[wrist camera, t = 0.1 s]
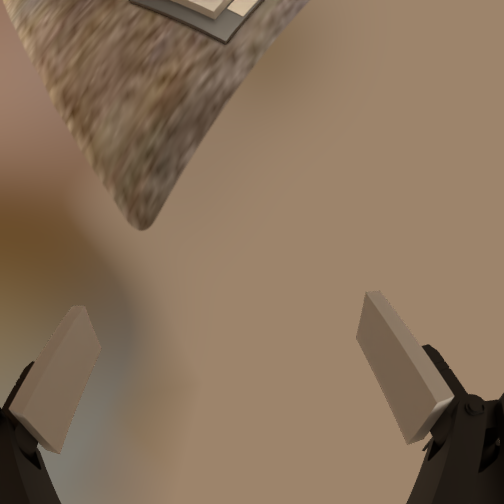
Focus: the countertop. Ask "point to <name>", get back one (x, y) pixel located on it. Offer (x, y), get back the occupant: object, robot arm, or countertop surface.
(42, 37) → the countertop surface
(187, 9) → the switch unit
